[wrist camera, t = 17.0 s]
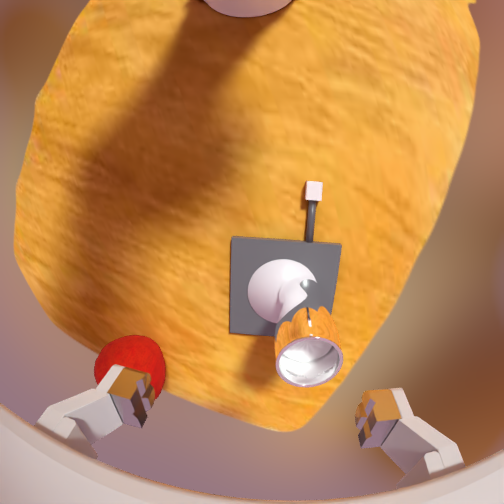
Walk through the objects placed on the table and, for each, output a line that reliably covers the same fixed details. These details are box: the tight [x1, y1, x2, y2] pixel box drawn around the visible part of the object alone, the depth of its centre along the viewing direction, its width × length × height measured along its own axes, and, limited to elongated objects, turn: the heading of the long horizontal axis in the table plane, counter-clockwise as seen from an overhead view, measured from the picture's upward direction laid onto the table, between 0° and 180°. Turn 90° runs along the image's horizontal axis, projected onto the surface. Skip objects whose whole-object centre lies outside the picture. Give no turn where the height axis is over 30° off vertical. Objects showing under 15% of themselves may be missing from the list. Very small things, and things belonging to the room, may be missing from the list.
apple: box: [94, 335, 166, 400], centre depth 40 cm, size 12×12×13 cm
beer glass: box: [274, 276, 343, 387], centre depth 32 cm, size 7×7×15 cm
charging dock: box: [230, 181, 342, 336], centre depth 38 cm, size 23×15×2 cm, turn 177°
